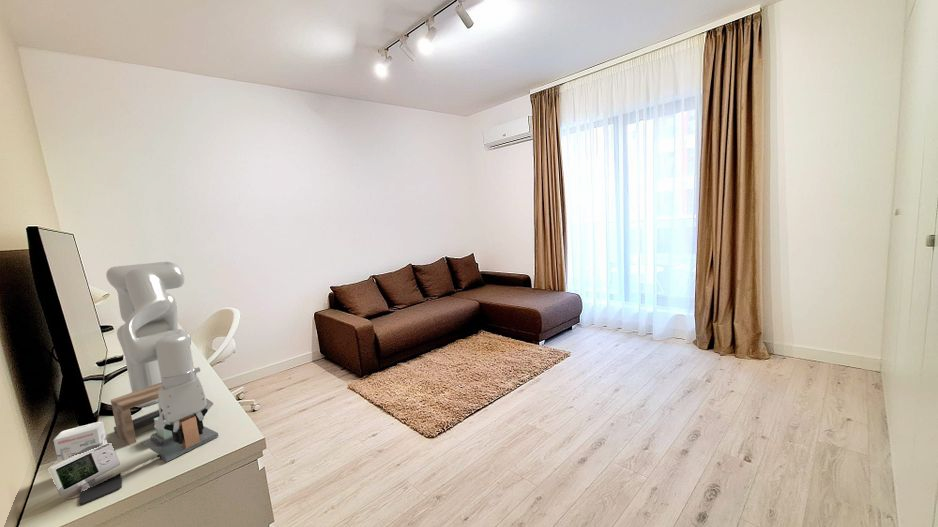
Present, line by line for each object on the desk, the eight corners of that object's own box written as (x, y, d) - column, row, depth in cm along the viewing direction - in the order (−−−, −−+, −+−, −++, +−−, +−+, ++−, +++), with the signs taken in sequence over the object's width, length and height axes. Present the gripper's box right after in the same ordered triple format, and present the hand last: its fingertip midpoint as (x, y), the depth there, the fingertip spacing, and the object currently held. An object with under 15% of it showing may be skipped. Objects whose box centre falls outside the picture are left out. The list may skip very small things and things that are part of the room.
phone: (120, 462, 100) (121, 486, 90) (120, 465, 100) (122, 489, 90) (81, 477, 95) (78, 505, 84) (81, 480, 95) (79, 508, 84)
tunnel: (118, 440, 112) (110, 399, 111) (183, 413, 127) (176, 377, 125) (130, 448, 107) (122, 406, 105) (196, 419, 121) (189, 381, 120)
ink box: (60, 482, 94) (50, 440, 93) (68, 472, 98) (59, 431, 97) (105, 468, 99) (97, 427, 97) (111, 459, 103) (103, 420, 101)
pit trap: (115, 435, 115) (113, 427, 115) (175, 411, 129) (174, 403, 128) (120, 439, 113) (118, 430, 112) (181, 414, 126) (179, 406, 126)
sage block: (157, 437, 110) (153, 418, 109) (180, 426, 115) (177, 409, 114) (165, 441, 107) (161, 423, 106) (189, 431, 112) (185, 413, 111)
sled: (141, 445, 108) (135, 417, 107) (191, 423, 119) (187, 397, 118) (166, 462, 99) (160, 431, 98) (218, 436, 110) (213, 408, 109)
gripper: (205, 365, 112) (215, 420, 114) (135, 388, 97) (147, 451, 100) (217, 368, 108) (227, 425, 110) (146, 393, 94) (159, 458, 96)
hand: (189, 437), depth 105 cm, fingers open, 4 cm apart
